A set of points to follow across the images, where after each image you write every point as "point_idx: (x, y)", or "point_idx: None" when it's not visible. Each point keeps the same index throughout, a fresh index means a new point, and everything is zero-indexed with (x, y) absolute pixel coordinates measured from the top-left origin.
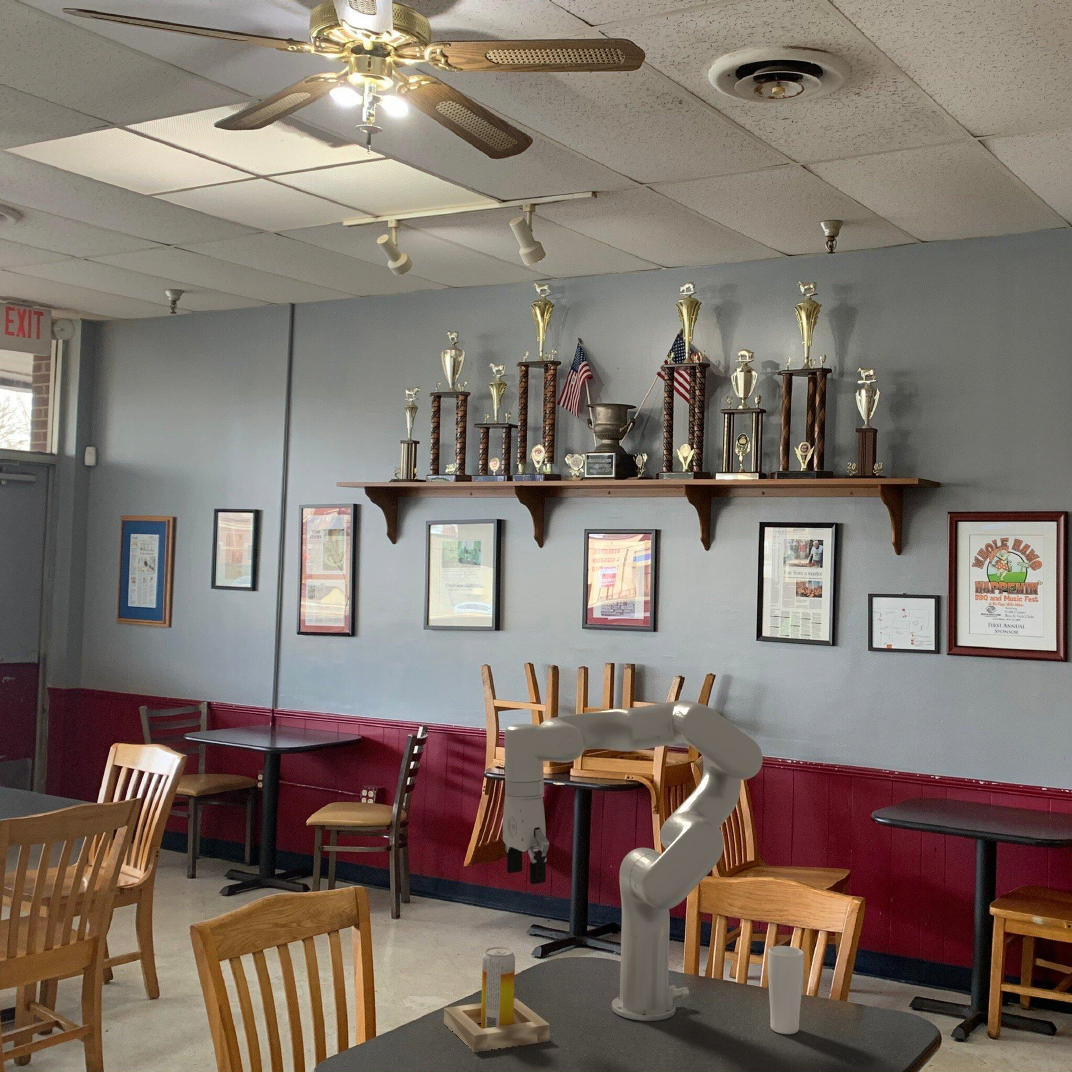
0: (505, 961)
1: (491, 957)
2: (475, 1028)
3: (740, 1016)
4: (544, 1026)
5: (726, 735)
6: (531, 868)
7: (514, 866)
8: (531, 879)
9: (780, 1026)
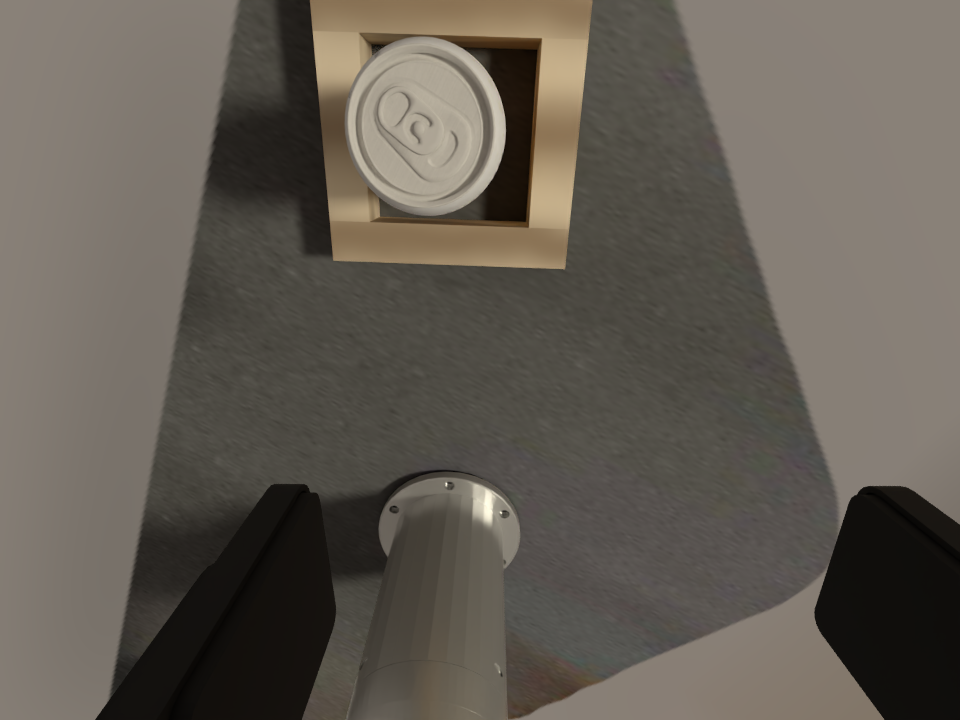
0: (345, 129)
1: (375, 57)
2: (368, 9)
3: (356, 644)
4: (332, 242)
5: None
6: (175, 643)
7: (882, 598)
8: (256, 518)
9: None
